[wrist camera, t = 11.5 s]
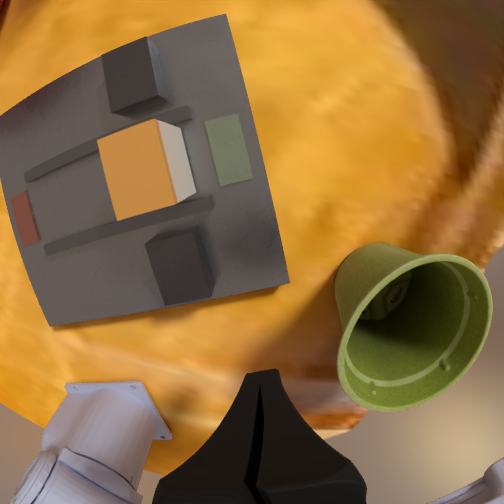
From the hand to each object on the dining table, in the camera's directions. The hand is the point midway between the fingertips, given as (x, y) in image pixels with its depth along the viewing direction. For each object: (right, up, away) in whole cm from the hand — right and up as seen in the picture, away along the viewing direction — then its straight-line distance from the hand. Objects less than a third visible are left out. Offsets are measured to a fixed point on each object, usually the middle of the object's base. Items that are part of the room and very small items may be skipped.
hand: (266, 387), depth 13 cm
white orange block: (-6, +11, +5) cm, 13 cm away
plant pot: (+8, +4, +9) cm, 13 cm away
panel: (-10, +11, +7) cm, 16 cm away
